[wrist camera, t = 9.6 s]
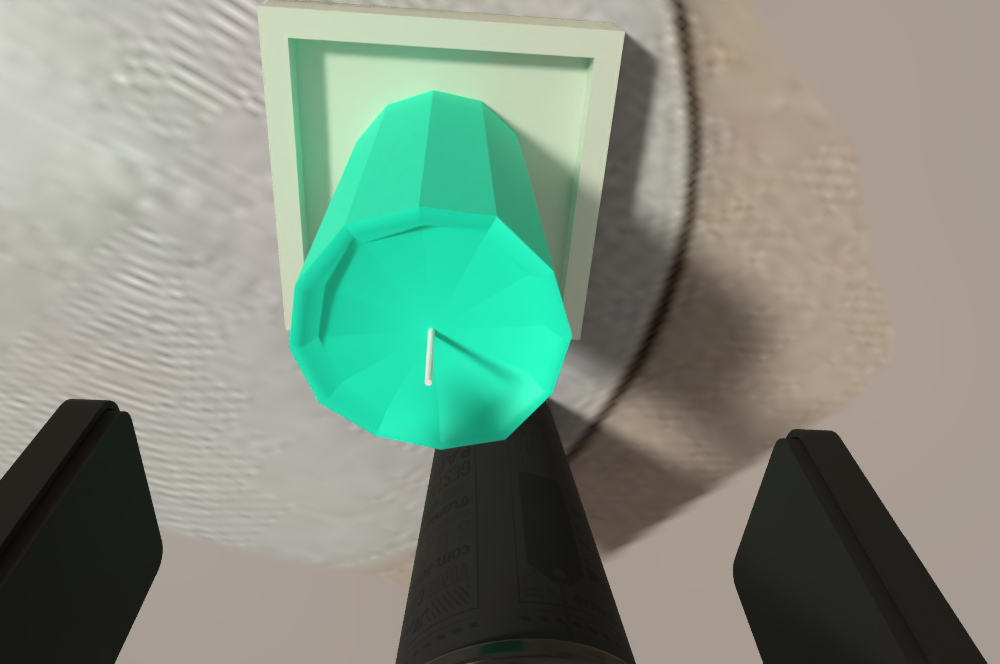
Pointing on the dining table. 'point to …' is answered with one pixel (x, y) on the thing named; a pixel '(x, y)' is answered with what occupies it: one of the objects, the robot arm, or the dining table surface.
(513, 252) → the candle
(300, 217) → the tray
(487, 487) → the drinking cup
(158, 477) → the dining table surface
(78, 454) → the robot arm
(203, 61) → the dining table surface
